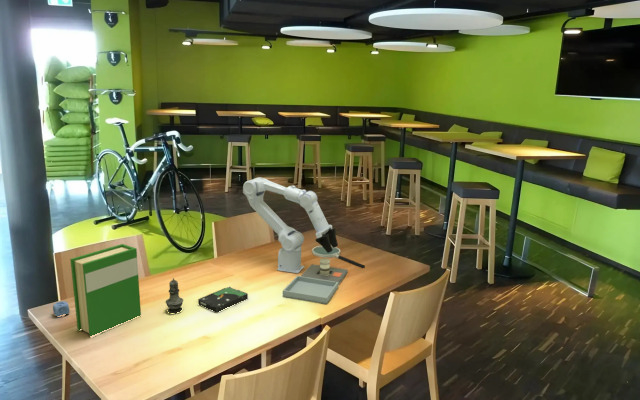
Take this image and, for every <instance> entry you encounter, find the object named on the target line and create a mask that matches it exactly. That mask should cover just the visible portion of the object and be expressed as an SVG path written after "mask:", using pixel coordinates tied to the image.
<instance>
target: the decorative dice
mask: <svg viewBox="0 0 640 400" xmlns="http://www.w3.org/2000/svg"><path fill="white" fill-rule="evenodd" d="M52 311H53V315H54V314H55V315H56V316H60V315H63V314H68V313H69V314H70V306H69V303H68V302H67V301H65V300H64V301H61V300H60V301H57V302H56V303H54V304H53V305H52ZM69 314H68V315H69ZM55 315H54V316H55Z"/></svg>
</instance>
